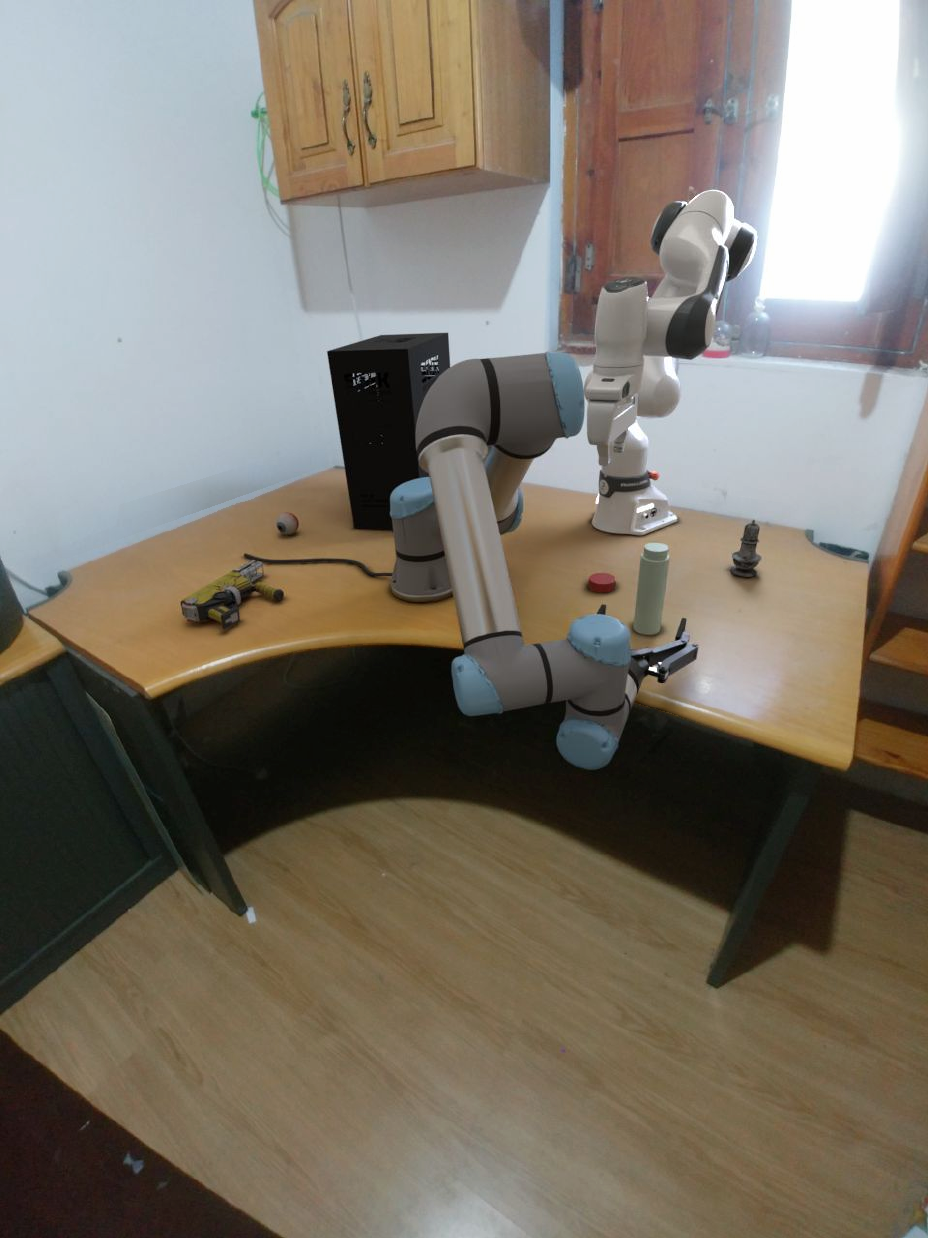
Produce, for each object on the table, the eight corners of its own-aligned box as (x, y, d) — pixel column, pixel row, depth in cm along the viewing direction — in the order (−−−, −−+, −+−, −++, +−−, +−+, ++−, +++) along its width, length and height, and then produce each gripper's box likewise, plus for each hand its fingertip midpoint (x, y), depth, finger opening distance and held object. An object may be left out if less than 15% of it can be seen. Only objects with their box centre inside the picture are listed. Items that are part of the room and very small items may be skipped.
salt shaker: (760, 577, 128) (772, 524, 122) (731, 576, 130) (741, 524, 124) (755, 566, 133) (766, 514, 127) (726, 565, 135) (736, 514, 129)
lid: (583, 584, 131) (583, 575, 130) (605, 578, 132) (605, 570, 131) (597, 594, 126) (598, 586, 125) (620, 588, 128) (621, 580, 127)
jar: (665, 630, 113) (676, 548, 104) (645, 637, 111) (655, 554, 103) (647, 619, 116) (657, 539, 108) (627, 626, 115) (635, 545, 106)
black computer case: (424, 530, 162) (407, 348, 139) (353, 528, 166) (326, 351, 144) (457, 486, 193) (448, 332, 171) (397, 485, 198) (380, 334, 175)
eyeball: (273, 537, 164) (268, 516, 161) (287, 528, 169) (282, 508, 166) (291, 539, 161) (286, 518, 158) (305, 530, 166) (301, 510, 163)
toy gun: (305, 569, 137) (249, 557, 141) (237, 616, 117) (174, 600, 121) (306, 587, 139) (251, 575, 143) (240, 636, 119) (178, 621, 123)
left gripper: (531, 686, 95) (572, 623, 111) (697, 726, 85) (715, 650, 101) (531, 647, 91) (573, 587, 108) (705, 683, 81) (722, 611, 98)
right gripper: (616, 372, 118) (611, 443, 125) (581, 390, 102) (578, 470, 109) (648, 372, 115) (641, 445, 122) (618, 391, 100) (612, 474, 107)
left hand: (642, 617), depth 105 cm, fingers open, 13 cm apart
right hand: (611, 458), depth 116 cm, fingers open, 8 cm apart
